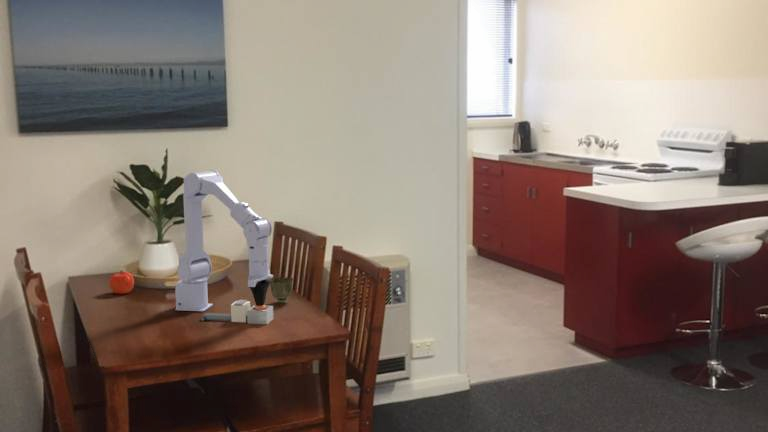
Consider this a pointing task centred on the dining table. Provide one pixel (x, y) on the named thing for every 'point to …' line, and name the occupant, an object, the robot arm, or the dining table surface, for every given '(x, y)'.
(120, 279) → the apple
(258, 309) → the button
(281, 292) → the cup
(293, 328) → the dining table surface
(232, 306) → the block
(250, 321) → the button housing
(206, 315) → the rail
